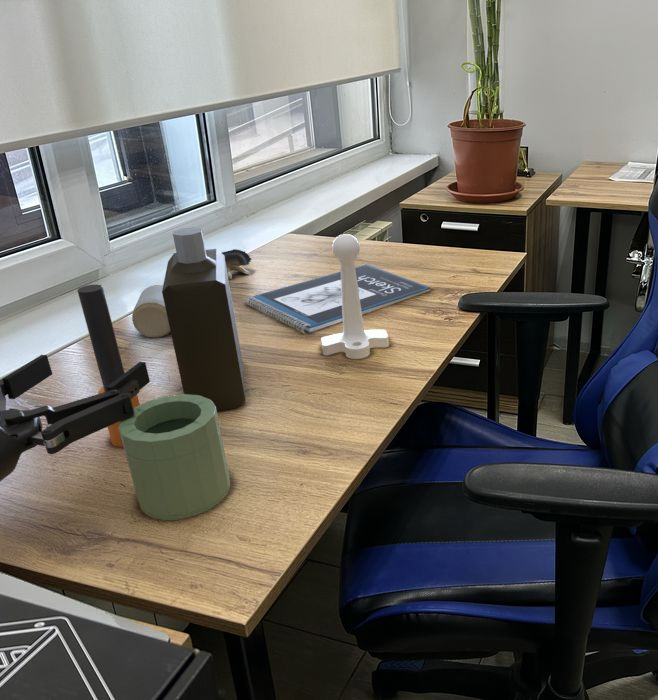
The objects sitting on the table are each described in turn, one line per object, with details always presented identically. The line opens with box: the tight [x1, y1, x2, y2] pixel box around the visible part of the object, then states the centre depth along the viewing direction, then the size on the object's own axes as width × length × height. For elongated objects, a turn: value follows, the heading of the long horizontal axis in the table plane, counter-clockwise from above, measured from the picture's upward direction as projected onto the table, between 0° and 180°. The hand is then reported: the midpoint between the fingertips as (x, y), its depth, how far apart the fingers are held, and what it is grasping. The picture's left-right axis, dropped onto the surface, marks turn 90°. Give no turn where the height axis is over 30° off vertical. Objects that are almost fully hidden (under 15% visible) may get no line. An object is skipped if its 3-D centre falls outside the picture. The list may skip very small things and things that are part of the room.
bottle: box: [162, 226, 246, 413], centre depth 103 cm, size 8×16×25 cm, turn 18°
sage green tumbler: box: [118, 393, 231, 521], centre depth 82 cm, size 10×10×11 cm
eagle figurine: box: [221, 248, 252, 280], centre depth 153 cm, size 8×7×9 cm
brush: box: [77, 284, 141, 448], centre depth 91 cm, size 4×4×22 cm
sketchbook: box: [246, 264, 432, 334], centre depth 141 cm, size 22×30×2 cm
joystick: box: [320, 233, 390, 360], centre depth 115 cm, size 11×8×20 cm
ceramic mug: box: [131, 284, 171, 339], centre depth 127 cm, size 11×8×8 cm
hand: (95, 367), depth 88 cm, fingers open, 13 cm apart
